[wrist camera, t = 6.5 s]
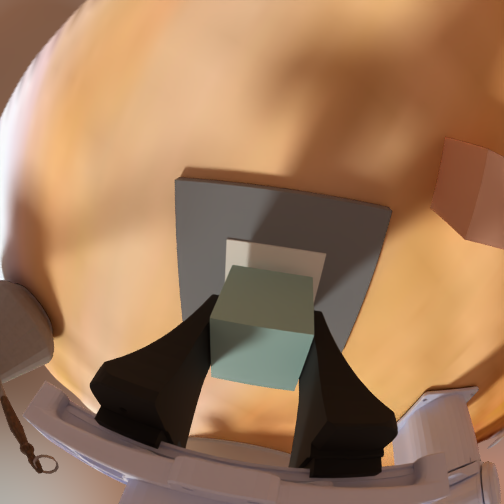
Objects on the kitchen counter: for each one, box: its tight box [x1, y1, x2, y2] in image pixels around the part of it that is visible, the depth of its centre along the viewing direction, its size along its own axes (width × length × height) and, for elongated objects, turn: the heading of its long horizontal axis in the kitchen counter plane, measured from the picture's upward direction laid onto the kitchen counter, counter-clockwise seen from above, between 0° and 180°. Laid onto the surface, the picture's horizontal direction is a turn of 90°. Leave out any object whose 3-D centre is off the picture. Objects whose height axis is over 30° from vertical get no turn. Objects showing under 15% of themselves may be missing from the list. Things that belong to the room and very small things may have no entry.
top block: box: [430, 137, 504, 249], centre depth 9 cm, size 4×4×4 cm
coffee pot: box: [0, 280, 58, 474], centre depth 17 cm, size 21×12×15 cm, turn 93°
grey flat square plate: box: [175, 177, 392, 353], centre depth 16 cm, size 11×11×1 cm
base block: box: [210, 265, 314, 391], centre depth 13 cm, size 4×4×4 cm
